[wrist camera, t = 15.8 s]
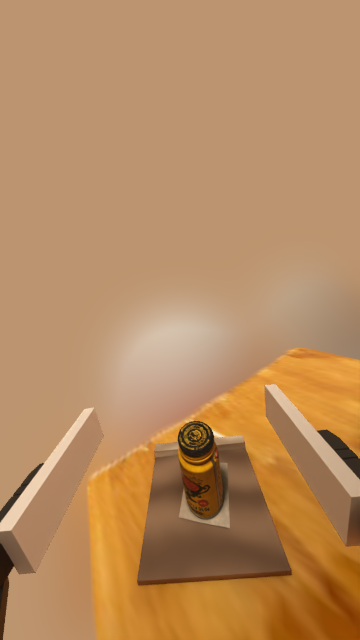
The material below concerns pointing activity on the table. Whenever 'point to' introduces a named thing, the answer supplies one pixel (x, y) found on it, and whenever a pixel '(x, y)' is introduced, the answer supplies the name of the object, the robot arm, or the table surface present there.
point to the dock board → (209, 526)
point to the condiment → (202, 476)
